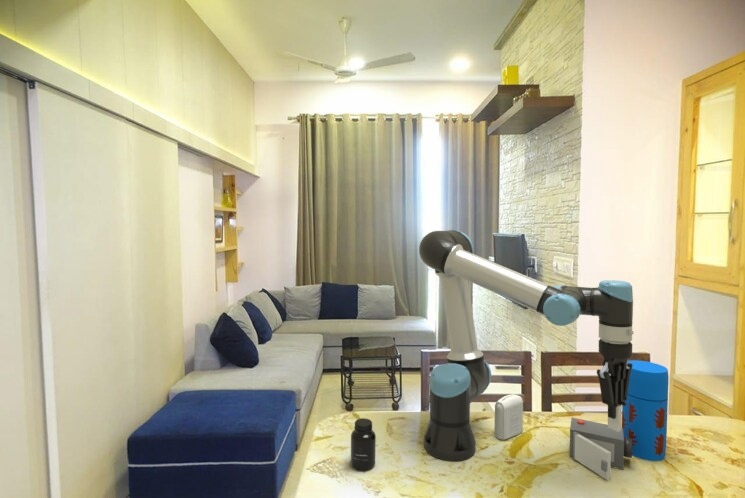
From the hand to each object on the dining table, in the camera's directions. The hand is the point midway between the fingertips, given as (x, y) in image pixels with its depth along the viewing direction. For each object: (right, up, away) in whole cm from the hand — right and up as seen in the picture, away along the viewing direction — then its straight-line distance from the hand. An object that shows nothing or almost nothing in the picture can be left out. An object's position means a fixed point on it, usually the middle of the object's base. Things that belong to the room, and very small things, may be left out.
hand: (614, 428), depth 105 cm
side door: (-5, -12, +2) cm, 13 cm away
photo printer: (-21, -11, +21) cm, 32 cm away
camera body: (0, -12, +9) cm, 15 cm away
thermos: (+15, -12, +11) cm, 22 cm away
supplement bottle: (-66, -12, +5) cm, 68 cm away
